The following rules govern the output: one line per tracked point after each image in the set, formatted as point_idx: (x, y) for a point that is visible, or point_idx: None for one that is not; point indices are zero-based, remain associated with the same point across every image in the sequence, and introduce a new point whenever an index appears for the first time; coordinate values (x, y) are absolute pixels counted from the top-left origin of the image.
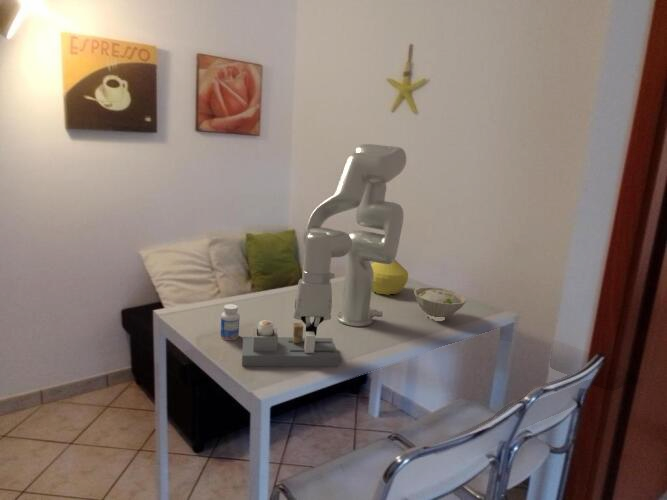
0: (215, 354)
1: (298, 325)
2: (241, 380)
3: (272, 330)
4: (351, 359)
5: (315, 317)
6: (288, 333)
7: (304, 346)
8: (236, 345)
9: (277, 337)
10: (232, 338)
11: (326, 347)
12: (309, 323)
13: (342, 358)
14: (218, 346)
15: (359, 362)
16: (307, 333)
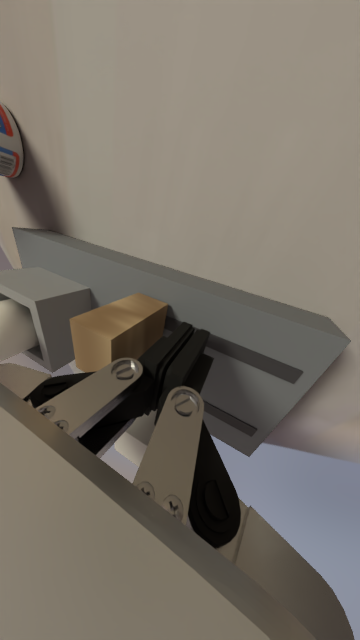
0: (19, 263)
1: (91, 359)
2: (71, 364)
3: (18, 351)
4: (335, 424)
5: (158, 452)
6: (189, 79)
7: None
8: (36, 220)
9: (51, 371)
10: (11, 175)
11: (242, 399)
12: (122, 426)
13: (303, 403)
14: (9, 219)
15: (348, 450)
16: (120, 439)
